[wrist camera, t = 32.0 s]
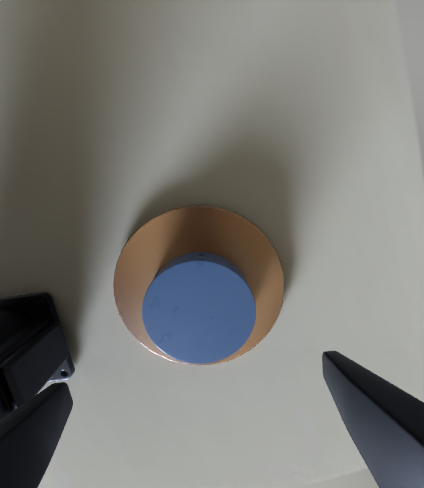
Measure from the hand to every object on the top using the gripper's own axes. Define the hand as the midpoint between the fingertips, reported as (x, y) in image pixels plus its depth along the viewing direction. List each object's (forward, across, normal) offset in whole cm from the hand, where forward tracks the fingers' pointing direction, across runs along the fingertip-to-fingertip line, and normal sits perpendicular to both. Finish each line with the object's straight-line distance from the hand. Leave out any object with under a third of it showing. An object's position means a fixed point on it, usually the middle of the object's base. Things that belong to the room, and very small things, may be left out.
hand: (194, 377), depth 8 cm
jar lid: (+6, 0, +1) cm, 6 cm away
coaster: (+8, 0, 0) cm, 8 cm away
